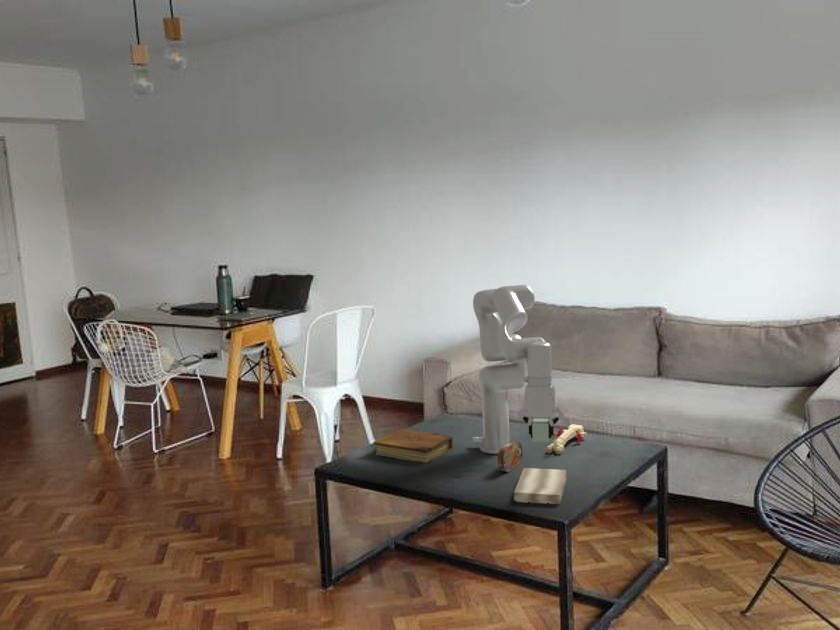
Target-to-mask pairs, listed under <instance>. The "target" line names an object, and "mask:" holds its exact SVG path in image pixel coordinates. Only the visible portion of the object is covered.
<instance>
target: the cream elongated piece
mask: <svg viewBox="0 0 840 630" xmlns="http://www.w3.org/2000/svg"><path fill="white" fill-rule="evenodd" d="M584 430H585V428H584V426H583V425H581V424H574V423H573V424H570V425H569V426H568V427H567V429H564V427H561V428H560V429H559V430H557V432H554V435H552V437H551V442H552V443H550V445H548V446H547V448H546V449H545V452H546V453H547V454H551V453H553V451H554V452H555V454H556V455H559V454H560V455H561V454H562V453H563V451H564V450H565V445H566V444H567V443H568V442H569V440H572V439H574V438H575V439H577V441H576V444H579V443H581V441H582V440H583V439H584V437H586V436H587V435H588V433H587V432H585V431H584ZM556 438H557V439H556Z"/></svg>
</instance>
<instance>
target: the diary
mask: <svg viewBox="0 0 840 630" xmlns="http://www.w3.org/2000/svg"><path fill="white" fill-rule="evenodd" d="M373 445H374V446H375V447H376V448H375V449H376V453H380V454H385V455H391V456H396V457H401V458H405V459H411V460H416V461H418V462H423V463H428V462H430V461H431V462H433V461H434V459H435V458H436V459H438V458H439V456H440V455H441V456H443V455H445V454H446V452H447V453H448V452H450V451H451V449H452V450H453V449H454V438H453V436H452V435H449V434H448V435H446V434H441V433H440V434H438V433H433V432H426V431H425V432H424V431H419V430H413V429H405V428H399V429H396V430H395V431H392V432H390V433H388V434H386V435H384V436H383V437H381V438H379V439H377V440H374V441H373ZM449 450H450V451H449ZM444 453H445V454H444ZM442 454H443V455H442ZM441 456H440V457H441ZM437 457H438V458H437ZM436 459H435V460H436ZM432 460H433V461H432ZM431 462H430V463H431ZM423 463H422V464H423ZM428 464H429V463H428Z"/></svg>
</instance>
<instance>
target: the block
mask: <svg viewBox="0 0 840 630" xmlns="http://www.w3.org/2000/svg"><path fill="white" fill-rule="evenodd" d="M532 437H533V438H532V442H533V443H549V442H550V439H549V420H548V418H533V421H532Z"/></svg>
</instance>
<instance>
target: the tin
mask: <svg viewBox="0 0 840 630" xmlns="http://www.w3.org/2000/svg"><path fill="white" fill-rule="evenodd" d="M522 459H523V447H522V443H521V442H520V441H510V442H509V443H508V444H507V445H505V446H504V447H502V448H501V449H500V450H499V453H498V454H497V464H498V470H499V471H501V472H505V473H510V472H511V471H513V470H514V469H515V468H516V467H518V466H519V465H520V464H521V462H522ZM512 469H513V470H512Z"/></svg>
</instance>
